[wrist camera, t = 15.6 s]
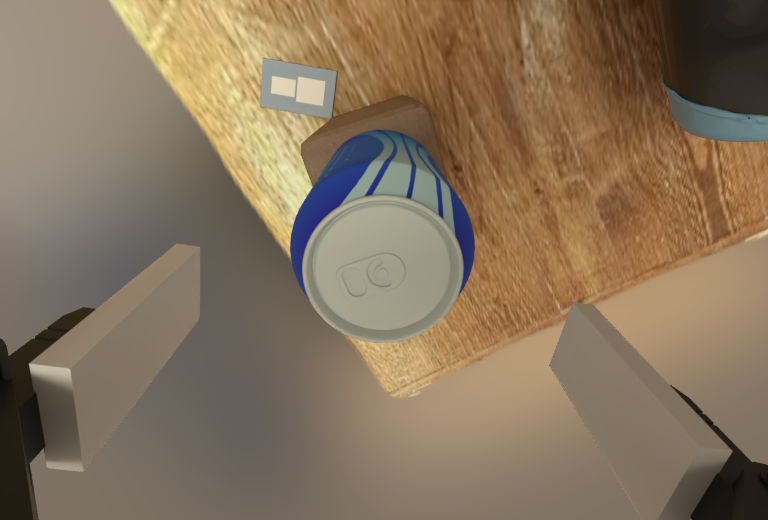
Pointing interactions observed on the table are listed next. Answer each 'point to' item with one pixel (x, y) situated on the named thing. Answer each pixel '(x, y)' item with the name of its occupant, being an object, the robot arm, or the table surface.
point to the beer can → (382, 240)
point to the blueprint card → (297, 88)
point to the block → (380, 116)
